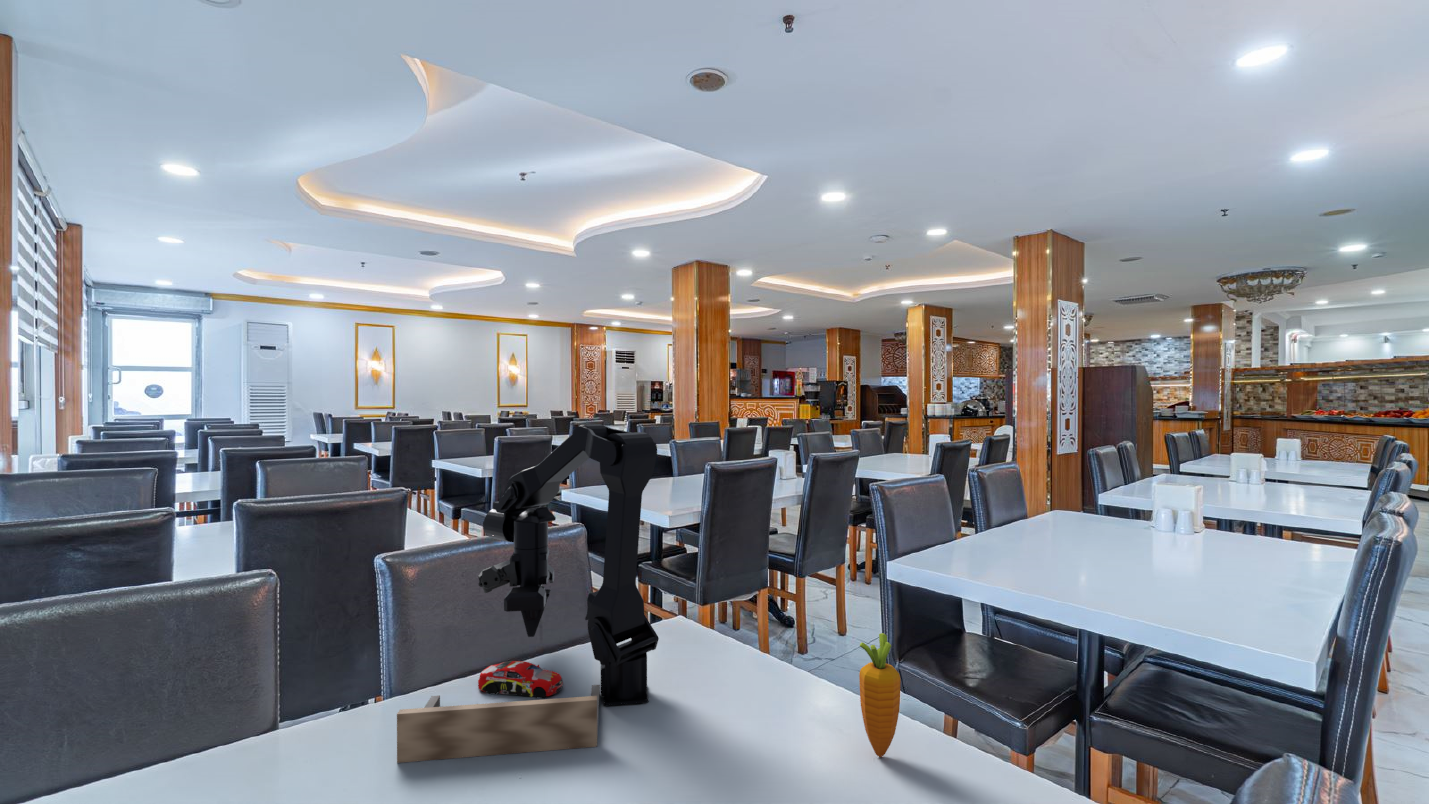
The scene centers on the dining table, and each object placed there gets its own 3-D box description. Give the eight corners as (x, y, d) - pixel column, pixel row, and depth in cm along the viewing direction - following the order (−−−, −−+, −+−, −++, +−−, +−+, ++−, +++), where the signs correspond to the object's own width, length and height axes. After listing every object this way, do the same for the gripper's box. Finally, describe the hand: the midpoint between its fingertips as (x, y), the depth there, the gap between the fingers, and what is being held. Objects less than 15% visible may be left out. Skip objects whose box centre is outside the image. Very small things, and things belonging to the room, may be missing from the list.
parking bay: (599, 694, 98) (599, 654, 98) (596, 746, 83) (596, 699, 83) (431, 706, 95) (431, 665, 95) (397, 763, 80) (396, 714, 80)
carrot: (878, 772, 77) (877, 646, 77) (851, 752, 82) (850, 633, 82) (909, 761, 80) (909, 639, 80) (881, 742, 84) (881, 627, 84)
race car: (569, 687, 102) (569, 661, 102) (553, 703, 96) (553, 676, 96) (492, 679, 105) (492, 654, 104) (473, 694, 99) (473, 668, 99)
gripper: (492, 536, 120) (493, 620, 120) (470, 560, 102) (470, 660, 102) (554, 534, 122) (554, 617, 122) (543, 558, 103) (543, 656, 103)
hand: (531, 636), depth 112 cm, fingers closed
